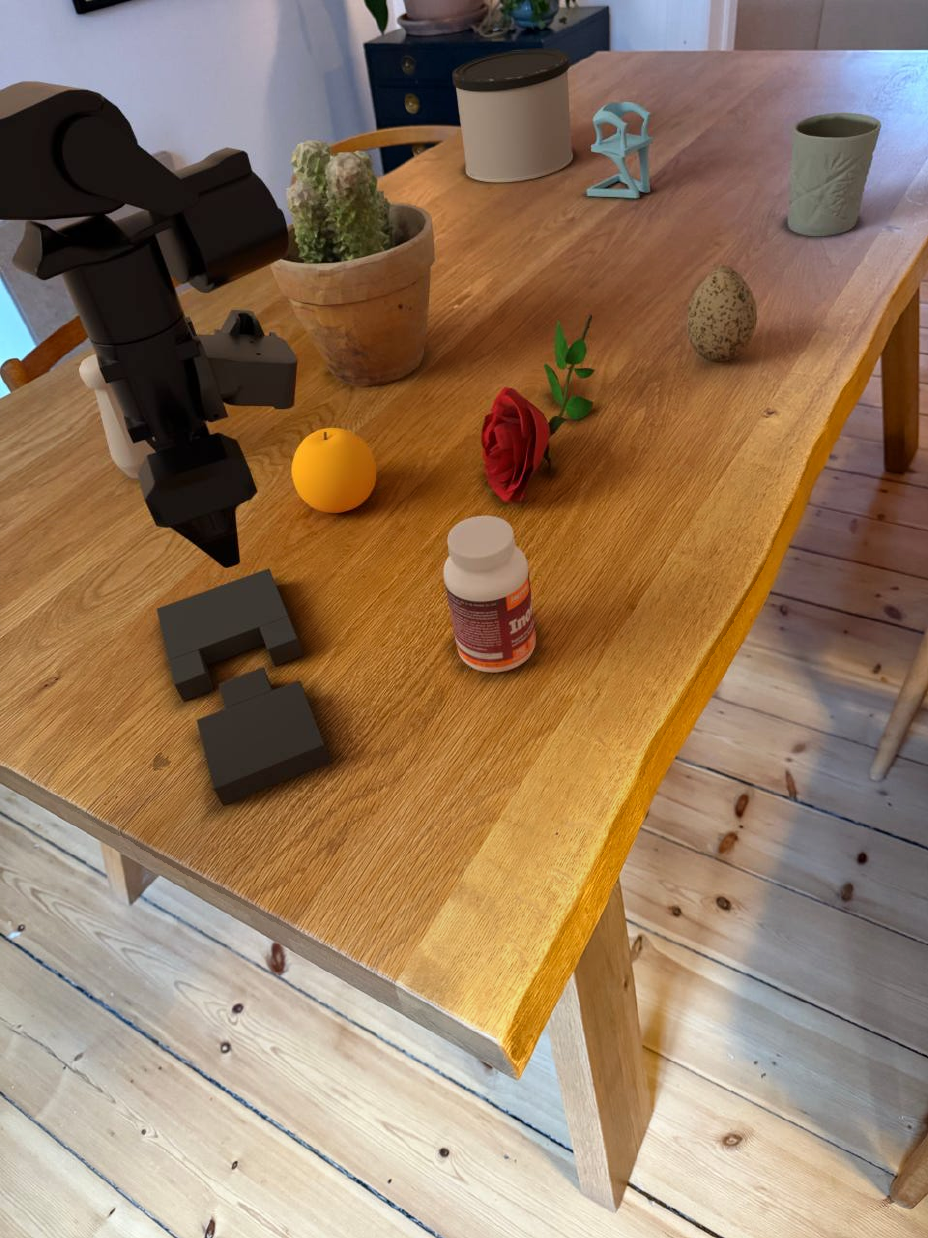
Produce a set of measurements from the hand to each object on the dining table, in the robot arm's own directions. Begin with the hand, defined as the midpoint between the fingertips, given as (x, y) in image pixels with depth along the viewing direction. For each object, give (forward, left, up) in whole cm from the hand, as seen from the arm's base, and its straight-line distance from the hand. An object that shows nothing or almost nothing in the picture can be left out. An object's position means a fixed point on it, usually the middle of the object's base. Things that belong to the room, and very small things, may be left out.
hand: (219, 529), depth 64 cm
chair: (+73, +71, -13) cm, 103 cm away
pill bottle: (+16, -9, -13) cm, 23 cm away
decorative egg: (+55, +19, -13) cm, 60 cm away
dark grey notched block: (-3, +3, -13) cm, 13 cm away
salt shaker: (-6, +35, -13) cm, 38 cm away
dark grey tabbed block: (-3, -8, -13) cm, 15 cm away
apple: (+11, +17, -13) cm, 24 cm away
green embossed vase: (+86, +41, -13) cm, 97 cm away
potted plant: (+23, +42, -13) cm, 50 cm away
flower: (+34, +18, -13) cm, 40 cm away
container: (+67, +96, -13) cm, 118 cm away
